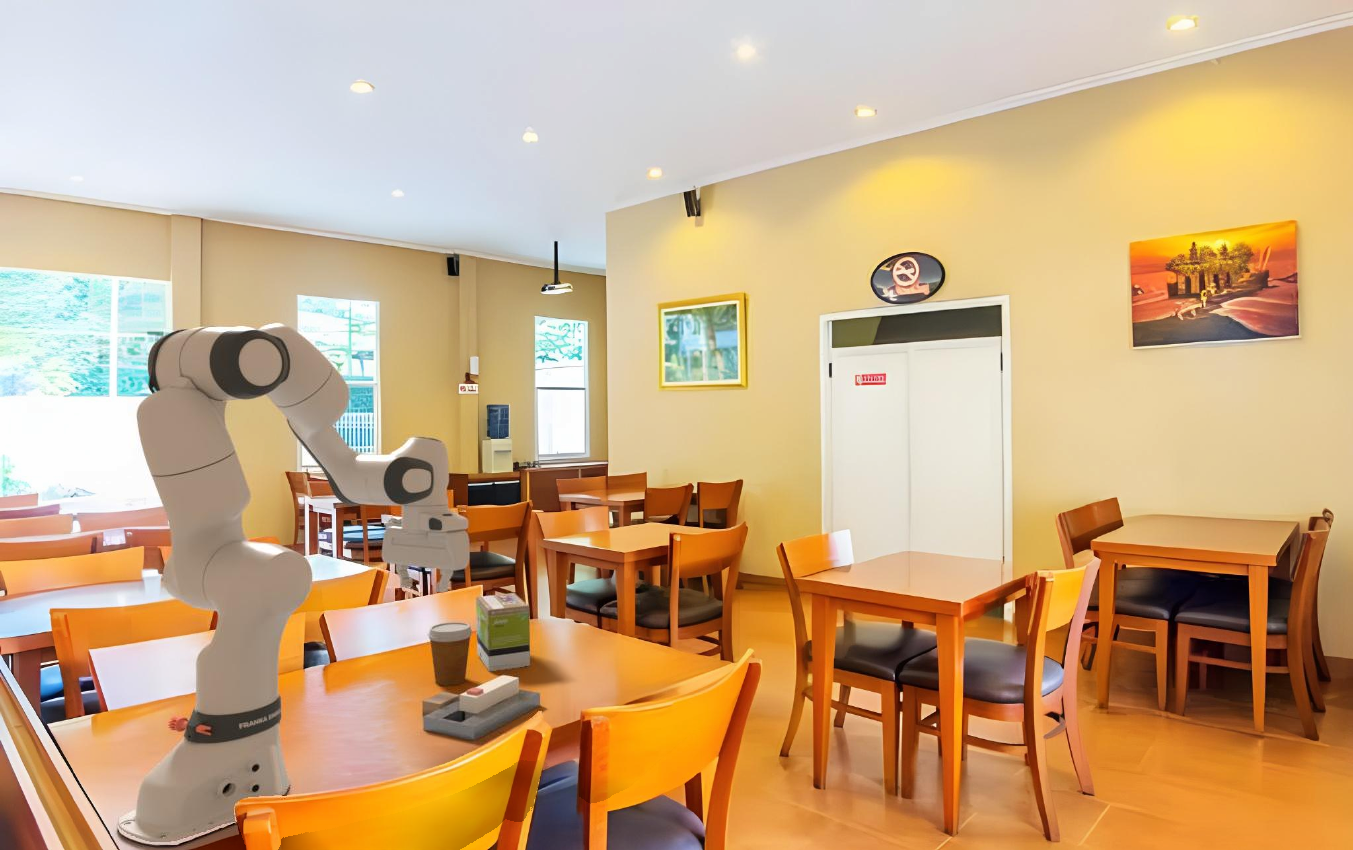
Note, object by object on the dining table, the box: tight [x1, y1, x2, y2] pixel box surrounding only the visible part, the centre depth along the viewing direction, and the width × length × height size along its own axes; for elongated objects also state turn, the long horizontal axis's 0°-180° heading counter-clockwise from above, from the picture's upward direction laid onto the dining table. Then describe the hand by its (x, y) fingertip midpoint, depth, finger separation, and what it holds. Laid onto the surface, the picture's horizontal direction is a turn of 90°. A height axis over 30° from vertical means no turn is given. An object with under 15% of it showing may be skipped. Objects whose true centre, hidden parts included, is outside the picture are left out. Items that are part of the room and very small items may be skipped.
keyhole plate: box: [422, 688, 541, 742], centre depth 154 cm, size 20×12×2 cm, turn 154°
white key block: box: [459, 674, 520, 720], centre depth 156 cm, size 13×4×6 cm, turn 154°
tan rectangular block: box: [421, 691, 460, 717], centre depth 156 cm, size 6×4×3 cm
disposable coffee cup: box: [427, 621, 473, 686], centre depth 176 cm, size 10×10×12 cm
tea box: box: [475, 592, 531, 672], centre depth 191 cm, size 15×10×15 cm, turn 25°
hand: (423, 589), depth 157 cm, fingers open, 8 cm apart
